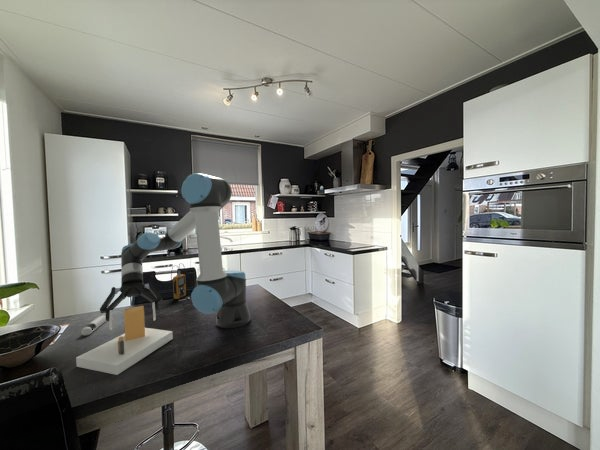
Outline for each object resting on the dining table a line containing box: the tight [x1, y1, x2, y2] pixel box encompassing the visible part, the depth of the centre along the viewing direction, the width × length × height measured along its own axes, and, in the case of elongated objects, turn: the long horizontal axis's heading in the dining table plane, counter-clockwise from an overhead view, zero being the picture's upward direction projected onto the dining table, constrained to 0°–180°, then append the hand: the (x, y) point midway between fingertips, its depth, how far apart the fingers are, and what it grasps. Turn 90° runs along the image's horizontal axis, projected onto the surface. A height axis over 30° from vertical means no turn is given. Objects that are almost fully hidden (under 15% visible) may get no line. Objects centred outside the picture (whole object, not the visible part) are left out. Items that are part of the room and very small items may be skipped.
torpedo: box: [80, 313, 107, 337], centre depth 105 cm, size 18×5×7 cm, turn 17°
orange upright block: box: [123, 305, 146, 341], centre depth 91 cm, size 6×6×10 cm
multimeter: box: [170, 263, 192, 303], centre depth 142 cm, size 15×10×20 cm
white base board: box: [75, 327, 174, 376], centre depth 86 cm, size 17×22×9 cm
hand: (133, 323), depth 91 cm, fingers open, 13 cm apart
